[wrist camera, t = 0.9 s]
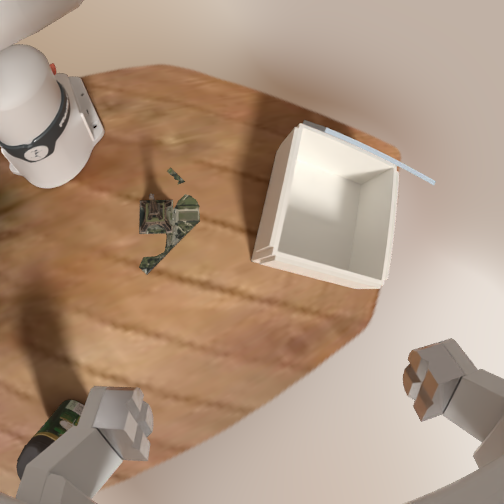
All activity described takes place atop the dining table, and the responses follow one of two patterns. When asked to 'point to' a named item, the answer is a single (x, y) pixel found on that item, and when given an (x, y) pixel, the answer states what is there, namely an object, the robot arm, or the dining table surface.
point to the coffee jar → (50, 432)
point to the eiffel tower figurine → (167, 221)
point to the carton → (329, 211)
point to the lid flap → (368, 149)
